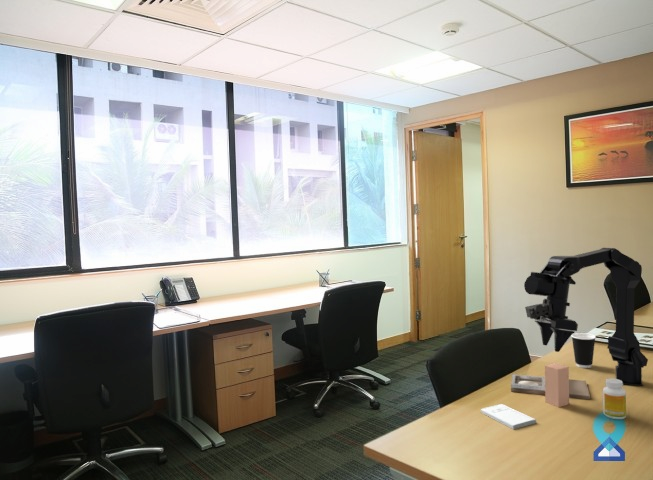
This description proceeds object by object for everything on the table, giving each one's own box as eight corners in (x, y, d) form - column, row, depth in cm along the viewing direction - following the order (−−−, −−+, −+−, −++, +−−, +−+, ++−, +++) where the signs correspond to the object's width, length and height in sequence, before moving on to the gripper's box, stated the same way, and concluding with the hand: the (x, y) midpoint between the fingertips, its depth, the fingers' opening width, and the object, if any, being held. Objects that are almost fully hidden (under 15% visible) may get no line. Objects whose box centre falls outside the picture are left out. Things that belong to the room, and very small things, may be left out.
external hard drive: (513, 431, 127) (480, 414, 138) (536, 424, 130) (502, 408, 141) (513, 425, 127) (480, 408, 138) (536, 418, 130) (502, 403, 141)
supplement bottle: (629, 420, 129) (629, 384, 129) (607, 419, 130) (606, 383, 130) (621, 412, 134) (621, 377, 134) (600, 411, 136) (599, 377, 135)
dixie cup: (600, 369, 170) (600, 338, 169) (577, 369, 171) (576, 338, 170) (589, 362, 178) (589, 332, 177) (567, 362, 178) (567, 333, 178)
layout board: (585, 383, 157) (585, 377, 157) (590, 399, 144) (589, 392, 144) (513, 377, 166) (512, 370, 165) (511, 391, 153) (510, 384, 153)
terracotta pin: (556, 398, 146) (555, 362, 145) (569, 403, 141) (568, 366, 141) (545, 401, 144) (544, 365, 143) (558, 407, 140) (557, 369, 139)
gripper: (520, 291, 157) (513, 338, 157) (541, 297, 138) (534, 351, 138) (555, 295, 156) (548, 343, 156) (581, 302, 138) (574, 356, 138)
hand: (550, 348), depth 147 cm, fingers open, 9 cm apart
